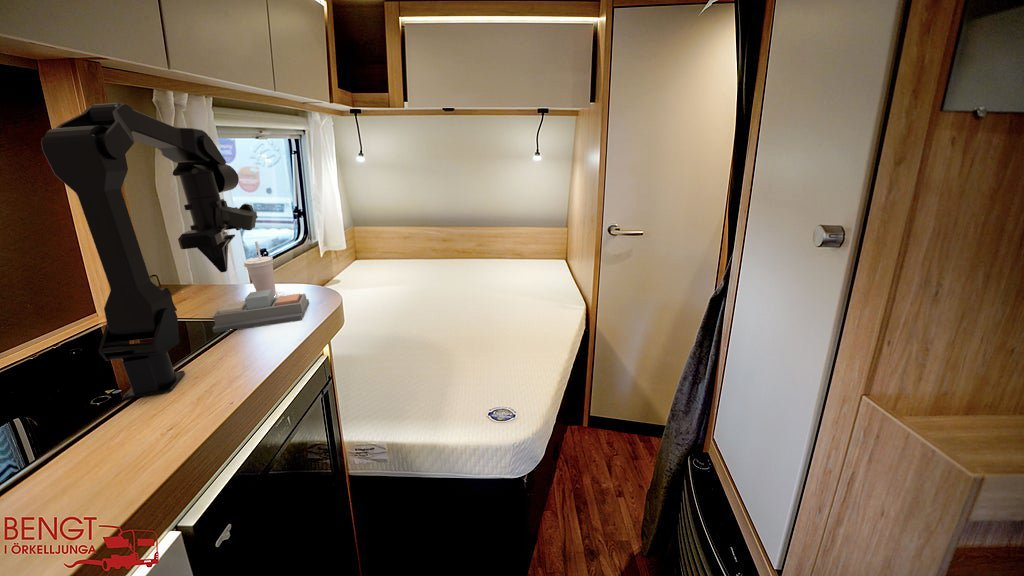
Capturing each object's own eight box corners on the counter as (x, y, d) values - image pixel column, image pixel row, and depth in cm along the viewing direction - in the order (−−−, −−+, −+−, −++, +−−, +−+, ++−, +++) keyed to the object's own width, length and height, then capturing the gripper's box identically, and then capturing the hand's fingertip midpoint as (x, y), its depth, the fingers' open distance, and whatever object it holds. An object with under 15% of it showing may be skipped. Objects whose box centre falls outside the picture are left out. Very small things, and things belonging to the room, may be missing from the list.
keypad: (301, 319, 100) (298, 306, 99) (213, 333, 96) (209, 319, 95) (309, 303, 110) (306, 291, 109) (229, 314, 106) (226, 302, 105)
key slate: (270, 306, 100) (267, 295, 100) (247, 309, 99) (244, 298, 99) (274, 300, 104) (271, 289, 104) (253, 303, 103) (250, 292, 103)
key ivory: (244, 318, 100) (241, 307, 99) (221, 321, 99) (218, 310, 98) (249, 311, 104) (246, 300, 103) (227, 314, 103) (224, 303, 102)
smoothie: (287, 294, 117) (274, 240, 112) (262, 303, 112) (248, 246, 107) (272, 291, 120) (259, 238, 116) (248, 299, 115) (233, 244, 111)
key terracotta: (299, 310, 102) (296, 299, 101) (277, 313, 101) (275, 302, 100) (302, 303, 106) (300, 293, 105) (281, 306, 105) (279, 296, 104)
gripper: (234, 198, 86) (254, 279, 91) (258, 188, 103) (274, 256, 108) (165, 205, 84) (191, 287, 89) (202, 193, 101) (221, 262, 106)
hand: (224, 271), depth 98 cm, fingers closed
